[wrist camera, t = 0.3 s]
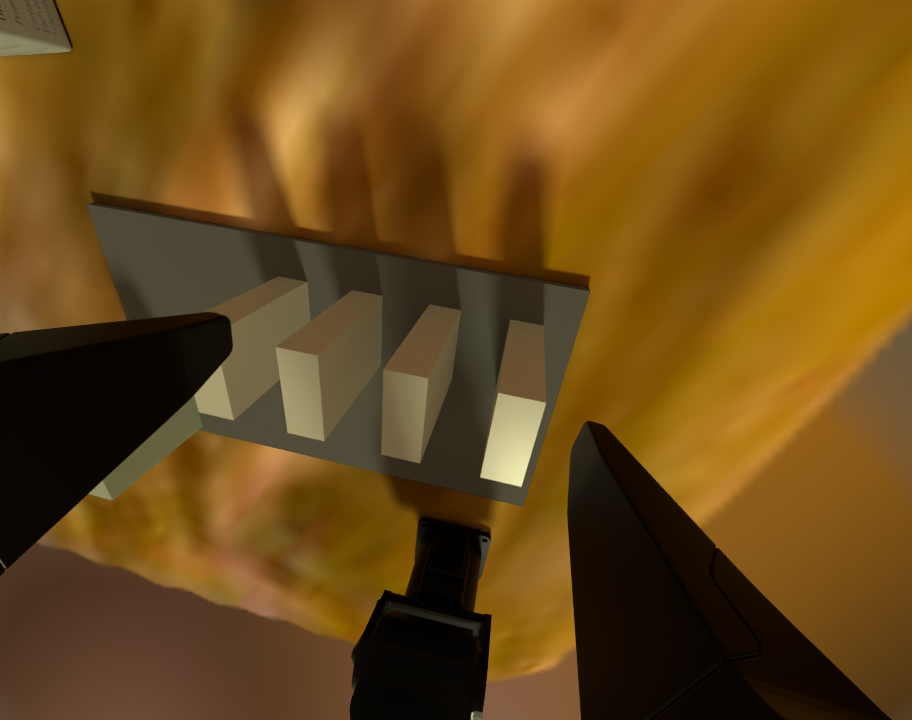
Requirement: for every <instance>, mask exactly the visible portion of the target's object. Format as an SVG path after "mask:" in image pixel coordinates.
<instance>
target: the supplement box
mask: <svg viewBox="0 0 912 720" xmlns="http://www.w3.org/2000/svg"><path fill="white" fill-rule="evenodd" d="M69 51H71V46H70V43H69V41H68V38H67V36H66V33H65V31H64V28H63V25H62V23H61V20H60V18H59V15H58V13H57V10H56V7H55V5H54V2H53V0H0V56H12V55H28V54H45V53H59V52H69Z"/></svg>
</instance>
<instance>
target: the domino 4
mask: <svg viewBox="0 0 912 720" xmlns="http://www.w3.org/2000/svg"><path fill="white" fill-rule="evenodd" d="M460 316H461V310H457V309H452V308H446V307H441V306H435V305H430V304H429V306H428V307H427V308H426V310H425V311H424V313H423V314H422V315H421V317H420V318H419V320H418V321H417V323H416V324H415V325H414V327H413V328H412V330H411V331H410V332H409V334H408V335H407V337H406V338H405V339H404V341H403V342H402V344H401V345H400V346H399V348H398V349H397V351H396V352H395V353H394V355H393V356H392V358H391V359H390V360H389V362H388V363H387V365H386V366H385V368H384V369H383V401H382V441H381V455H386V456H390V457H394V458H399V459H403V460H407V461H412V462H416V463H420V462H421V460H422V457H423V454H424V452H425V449H426V446H427V444H428V441H429V439H430V436H431V433H432V431H433V428H434V425H435V423H436V420H437V417H438V415H439V412H440V409H441V407H442V404H443V401H444V399H445V396H446V393H447V391H448V388H449V386H450V383H451V380H452V375H453V368H454V360H455V353H456V346H457V338H458V331H459V323H460Z"/></svg>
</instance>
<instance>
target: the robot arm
mask: <svg viewBox="0 0 912 720" xmlns="http://www.w3.org/2000/svg"><path fill="white" fill-rule="evenodd" d="M232 349H233V339H232V330H231V322H230V319H229V318H228V317H227V316H225V315H221V314H218V313H215V312H203V313H193V314H184V315H174V316H165V317H155V318H146V319H136V320H127V321H117V322H108V323H98V324H89V325H79V326H70V327H60V328H51V329H41V330H32V331H22V332H14V333H12V334H9V333H3V334H0V576H1V575H2V574H3V573H4V572H5V569H7V568H9V567H10V566H11V565H12V564H13V563H14V562H15V561H16V560H18V559H19V558H20V557H21V556H22V555H23V554H24V553H25V552H26V551H27V550H28V549H29V548H30V547H32V545H34V544H35V543H36V542H37V541H38V540H39V539H40V538H41V537H42V536H43V535H45V534H46V533H47V532H48V531H49V530H50V529H51V528H52V527H53V526H54V525H55V524H56V523H57V522H59V521H60V520H61V519H62V518H63V517H64V516H65V515H66V514H67V513H68V512H69V511H70V510H72V509H73V508H74V507H75V506H76V505H77V504H78V503H79V502H80V501H81V500H82V499H83V498H84V497H86V496H87V495H88V494H89V493H90V492H91V491H92V490H93V489H94V488H95V487H96V486H97V485H99V484H100V483H101V482H102V481H103V480H104V479H105V478H106V477H107V476H108V475H109V474H110V473H111V472H113V471H114V470H115V469H116V468H117V467H118V466H119V465H120V464H121V463H122V462H123V461H124V460H126V459H127V458H128V457H129V456H130V455H131V454H132V453H133V452H134V451H135V450H136V449H137V448H139V447H140V446H141V445H142V444H143V443H144V442H145V441H146V440H147V439H148V438H149V437H150V436H151V435H153V434H154V433H155V432H156V431H157V430H158V429H159V428H160V427H161V426H162V425H163V424H164V423H166V422H167V421H168V420H169V419H170V418H171V417H172V416H173V415H174V414H175V413H176V412H177V411H178V410H180V409H181V408H182V407H183V406H184V405H185V404H186V403H187V402H188V401H189V400H190V399H191V398H192V397H193V396H194V395H195V394H196V393H197V392H198V390H199V389H200V388H201V387H202V386H203V385H204V384H205V383H206V381H207V380H208V379H209V378H210V377H211V376H212V375H213V373H214V372H215V371H216V370H217V369H218V368H219V367H220V366H221V364H222V363H223V362H224V361H225V360H226V359H227V358H228V356H229V355H230V354H231V352H232ZM567 515H568V533H569V548H570V562H571V577H572V592H573V607H574V621H575V636H576V651H577V664H578V665H577V666H578V680H579V695H580V709H581V720H892V719H890V718H889V717H888V716H887V715H886V714H885V713H884V712H883V711H882V710H881V709H880V708H879V707H878V706H877V705H876V704H875V703H873V702H872V701H871V700H870V699H869V698H868V697H867V696H866V695H865V694H864V693H863V692H862V691H861V690H860V689H859V688H858V687H857V686H856V685H855V684H854V683H853V682H852V681H851V680H850V679H849V678H848V677H847V676H846V675H844V674H843V672H841V671H840V670H839V669H838V668H837V667H836V666H835V665H834V664H833V663H832V662H831V661H830V660H829V659H828V658H827V657H826V656H825V655H824V654H823V653H822V652H821V651H820V650H819V649H818V648H817V647H816V646H815V645H814V644H813V643H812V642H810V640H808V639H807V638H806V637H805V636H804V635H803V634H802V633H801V632H800V631H799V630H798V629H797V628H796V627H795V626H794V625H793V624H792V623H791V622H790V621H789V620H788V619H787V618H786V617H785V616H784V615H783V614H782V613H781V612H780V611H779V610H778V609H777V608H776V607H775V606H774V605H773V604H772V603H771V602H770V601H769V600H768V599H767V598H766V597H765V596H764V595H763V594H762V593H761V592H760V591H759V590H758V589H757V588H756V587H755V586H754V585H753V584H752V583H751V582H750V581H749V580H748V579H747V578H746V577H745V576H744V575H743V574H742V572H741V571H740V570H739V569H738V568H737V567H736V566H735V565H734V564H733V563H732V562H731V561H730V560H729V559H728V558H727V557H726V555H725V554H724V553H723V552H722V551H721V550H720V549H719V548H716V545H715V544H714V543H713V541H712V540H711V539H710V538H709V537H708V536H707V535H706V534H705V533H704V532H703V531H702V530H701V529H700V527H699V526H698V525H697V524H696V523H695V522H694V521H693V520H692V519H691V518H690V517H689V516H688V515H687V513H686V512H685V511H684V510H683V509H682V508H681V507H680V506H679V505H678V504H677V503H676V502H675V501H674V499H673V498H672V497H671V496H670V495H669V494H668V493H667V492H666V491H665V490H664V489H663V488H662V487H661V486H660V484H659V483H658V482H657V481H656V480H655V479H654V478H653V477H652V476H651V475H650V474H649V473H648V472H647V470H646V469H645V468H644V467H643V466H642V465H641V464H640V463H639V462H638V461H637V460H636V459H635V458H634V456H633V455H632V454H631V453H630V452H629V451H628V450H627V449H626V448H625V447H624V446H623V445H622V444H621V442H620V441H619V440H618V439H617V438H616V437H615V436H614V435H613V434H612V433H611V432H610V431H609V430H608V428H607V427H606V426H604V425H602V424H599V423H595V422H592V421H587V422H585V423H584V425H583V426H582V428H581V430H580V432H579V434H578V436H577V438H576V440H575V442H574V444H573V447H572V450H571V454H570V471H569V489H568V510H567ZM490 542H491V536H490V534H488V533H485V532H481V531H477V530H473V529H469V528H465V527H461V526H457V525H453V524H448V523H444V522H440V521H436V520H432V519H428V518H421V519H420V520H419V523H418V532H417V541H416V551H415V560H414V561H415V564H414V567H413V570H412V574H411V577H410V580H409V584H408V587H407V590H406V594H405V596H404V595H400V594H395V593H392V592H391V591H388V590H384V593H383V595H382V597H381V599H379V600H378V601H377V604H376V607H375V609H374V611H373V613H372V615H371V618H370V620H369V622H368V624H367V626H366V628H365V631H364V633H363V634H362V636H361V637H360V639H359V641H358V642H357V644H356V645H355V647H354V649H353V652H352V656H351V658H352V661H353V664H354V669H353V677H352V688H353V689H355V690H354V693H353V696H352V699H351V704H350V720H481V718H482V712H483V705H484V698H485V689H486V680H487V670H488V657H489V644H490V630H491V617H492V615H489V614H485V615H484V614H479V613H475V612H474V608H475V600H476V593H477V586H478V580H479V579H480V578H481V576H482V572H483V568H484V564H485V561H486V557H487V553H488V549H489V545H490Z"/></svg>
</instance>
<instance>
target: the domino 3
mask: <svg viewBox="0 0 912 720" xmlns="http://www.w3.org/2000/svg"><path fill="white" fill-rule="evenodd" d="M382 302H383V296H381V295H376V294H371V293H365V292H360V291H354V290H352V291H350V292H349V293H348V294H346V295H345V296H344V297H342V298H341V299H339V300H338V301H337V302H335V303H334V304H333V305H331V306H330V307H329V308H327V309H326V310H325V311H323V312H322V313H321V314H319V315H318V316H317V317H315V318H314V319H313V320H311V321H310V322H309V323H307V324H306V325H304V326H303V327H302V328H300V329H299V330H298V331H296V332H295V333H294V334H292V335H291V336H290V337H288V338H287V339H286V340H284V341H283V342H282V343H280V344H279V345H278V346H276V354H277V361H278V368H279V375H280V382H281V389H282V397H283V404H284V411H285V418H286V425H287V432H288V433H291V434H295V435H299V436H304V437H308V438H312V439H317V440H321V441H325V440H326V438H327V437H328V436H329V434H330V433H331V432H332V430H333V429H334V428H335V426H336V425H337V424H338V422H339V421H340V419H341V418H342V417H343V415H344V414H345V413H346V411H347V410H348V409H349V407H350V406H351V405H352V403H353V402H354V401H355V399H356V398H357V396H358V395H359V394H360V392H361V391H362V390H363V388H364V387H365V386H366V384H367V383H368V382H369V380H370V379H371V377H372V376H373V375H374V373H375V372H376V371H377V369H378V368H379V367H380V365H381V349H382Z"/></svg>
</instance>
